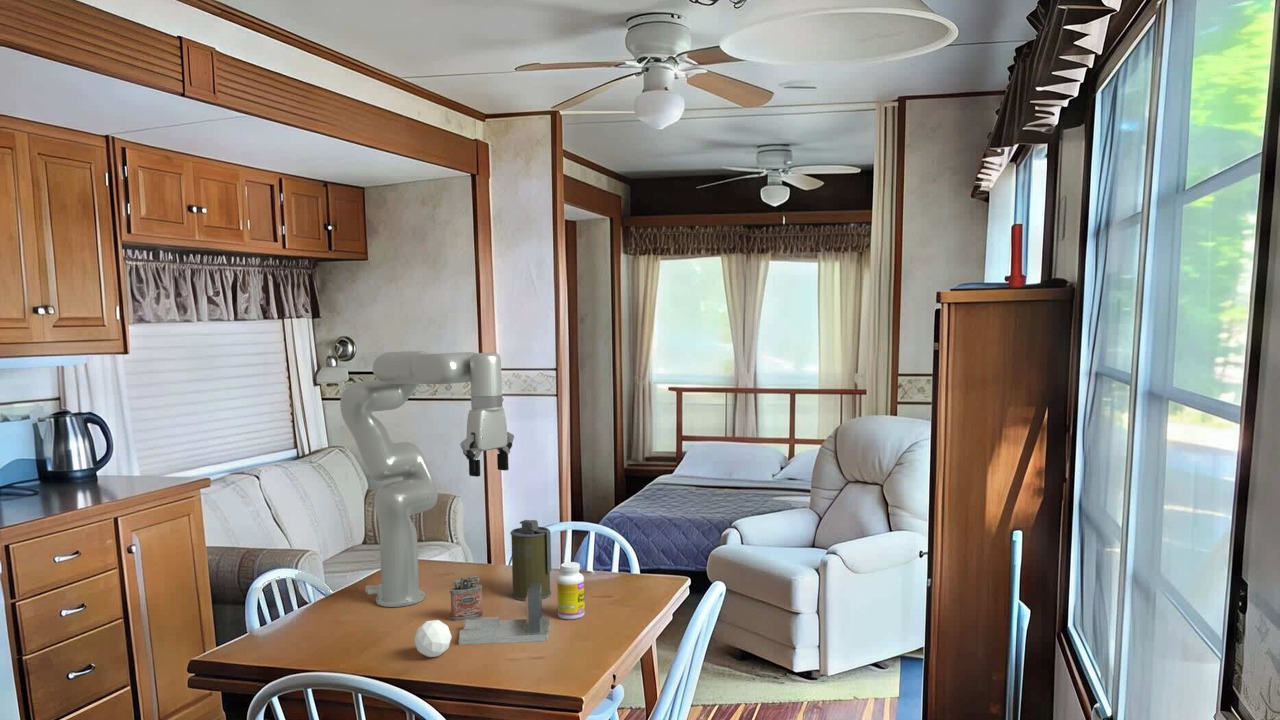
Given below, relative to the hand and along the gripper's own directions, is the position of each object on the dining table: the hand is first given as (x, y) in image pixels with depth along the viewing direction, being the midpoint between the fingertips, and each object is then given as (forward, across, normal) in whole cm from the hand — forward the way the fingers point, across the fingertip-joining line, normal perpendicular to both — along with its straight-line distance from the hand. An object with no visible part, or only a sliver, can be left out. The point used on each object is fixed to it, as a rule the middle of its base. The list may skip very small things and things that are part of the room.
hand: (489, 473), depth 203 cm
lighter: (+36, +2, -7) cm, 37 cm away
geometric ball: (+36, +24, +4) cm, 44 cm away
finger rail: (+36, +6, +9) cm, 38 cm away
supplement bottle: (+37, -12, +15) cm, 41 cm away
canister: (+36, -20, -5) cm, 42 cm away
